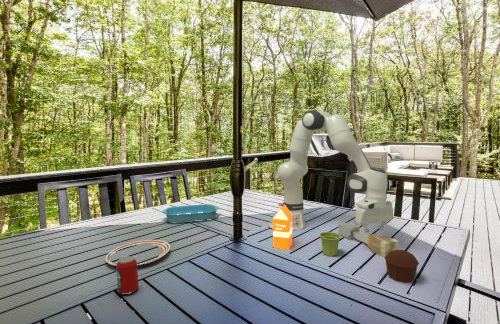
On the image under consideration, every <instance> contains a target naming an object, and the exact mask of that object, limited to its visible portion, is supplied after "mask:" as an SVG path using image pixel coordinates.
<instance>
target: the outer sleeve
mask: <svg viewBox="0 0 500 324" xmlns="http://www.w3.org/2000/svg"><path fill="white" fill-rule="evenodd" d="M354 230H357V231H359V232H361V226H359V225H358V224H354V223H351V222H343V223H338V230H337V231H338V233H337V234H339V235H340V236H341V238H344V239H347V240H348V241H350V240H351V241H352V240H355V238H353V237H351V231H354Z"/></svg>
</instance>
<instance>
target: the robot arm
mask: <svg viewBox="0 0 500 324" xmlns="http://www.w3.org/2000/svg"><path fill="white" fill-rule="evenodd" d="M292 132H293V133H292V137H291V140H290V144H289V148H288V149H289V152H290V157H289V158H290V159H289V161H285V162H283V163H282V164H280V166H278V168H277V175H278V178H279V179H280V180H281V183H282V187H283V198H284V199H283V202H278V206H279V207H282V206H283V205H284V204H285V205H286V207H287V208H288V210H289V211H290V213H291V214H292V231H300V230H301V231H303V230H304V229H305V227H306V222H305V218H304V208H305V207H304V198H303V197H304V196H303V195H304V193H303V190H304V189H303V188H302V186H301V182H300V179H301V178H303V177H304V176H306V174H307V173H308V172H309V166H308V155H309V151H310V146H311V143H312V138H313V135H314V133H315V132H326V133H327V134H328V138H329V141H330V143H331V145H332V147H333V148H334V150H335V151H337V152H339V153H342V154H344V155H347V156H349V157H350V158H351V159H352V160H353V163H354V164H355V166H356V168H357V170H358V172H355V173H352V174H350V175H349V176H348V178H347V180H346V184H347V188H348V189H349V191H351V192H352V193H357V194H361V193H364V194H365V197H364V198H362V199H360V200H359V201H358V200H357V202H356V207H357V208H356V210H355V218H354V219H355V222H356V224H357V225H358V224H359V225H361V226H362V228H363V233H364V234H368V233H369V232H370V228H368V226H369V224H375V223H380V225H378V229H379V230H380V231H384V230H385V227H386V225H387V223H388V221H392V220H393V219H394V208H393V202H391V201H390V200H387V189H388V174H387V172H386V170H384V169H382V168H379V167H373V166H371V164H370V162H369V160H368V158H367V156H366V155H365V152H364V151H363V149H362V148H361V145H360V144H359V143H358V142H357V140H356V139H355V137H354V134H353V133H352V130H351V128H350V126H349V124H348V122H347V120H346V119H345V118H344V116H343V115H341V114H339V113H337V114H332V113H331V112H330V111H329V112H328V111H325V110H315V109H312V110H311V109H310V110H307V111H306V112H304V114H303V115H302V118H301V119H300V120H298V121H297V123H296V125H295V127H294V129H293V131H292ZM279 211H280V209H279V210H278V211H277V212H275V213H274V214H273V215H272V217H271V219H272V220H271V222H268V225H267V227H270V228H269V229H271V228H272V229H271V230H273V219H274V217H275V216H276V215H277V213H278V212H279Z"/></svg>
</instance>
